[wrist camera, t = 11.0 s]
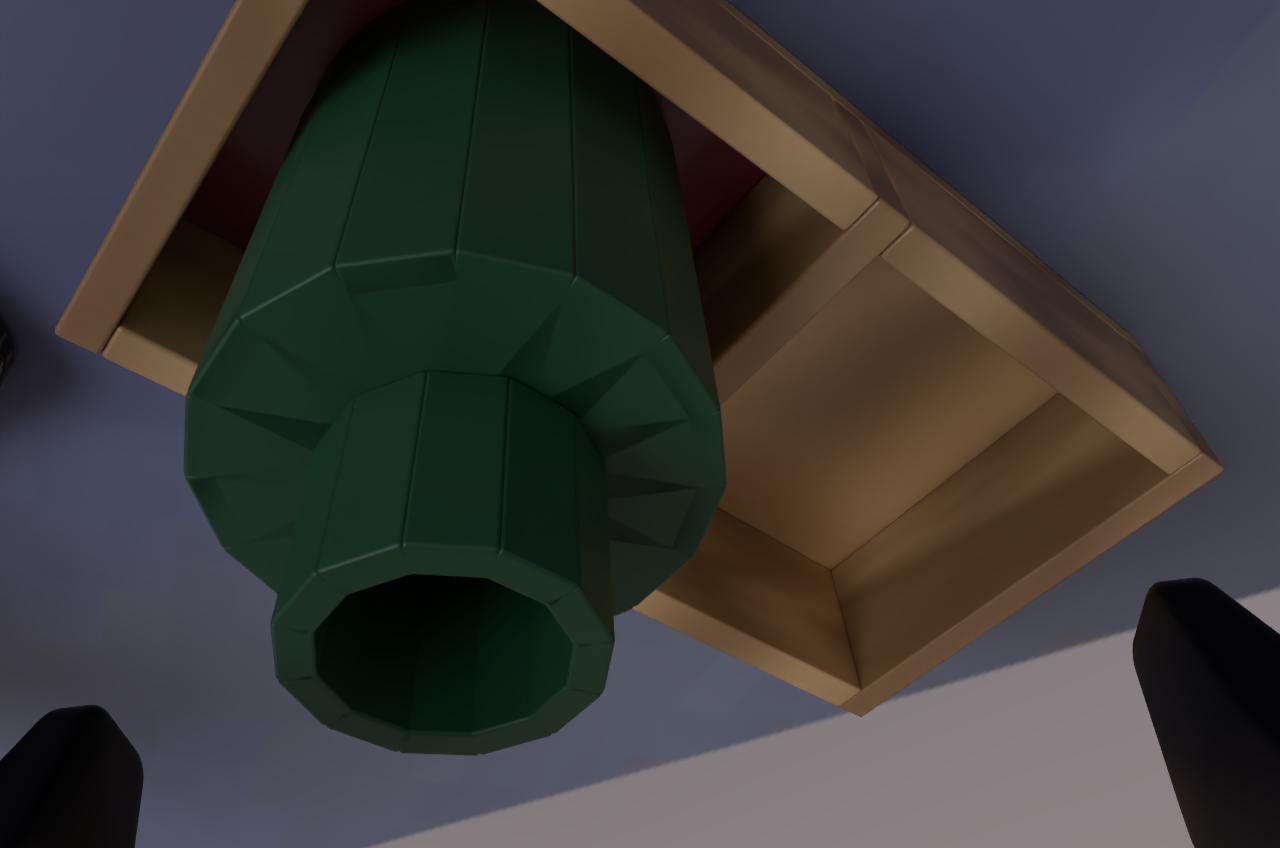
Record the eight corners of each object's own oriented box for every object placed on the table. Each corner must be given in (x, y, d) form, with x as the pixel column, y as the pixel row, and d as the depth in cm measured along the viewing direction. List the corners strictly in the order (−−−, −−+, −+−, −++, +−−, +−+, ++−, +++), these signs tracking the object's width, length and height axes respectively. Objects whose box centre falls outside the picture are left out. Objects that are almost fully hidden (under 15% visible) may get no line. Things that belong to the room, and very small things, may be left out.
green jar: (745, 139, 18) (886, 610, 10) (536, 372, 21) (524, 875, 13) (431, -100, 15) (308, 293, 8) (240, 205, 18) (12, 712, 11)
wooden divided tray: (1134, 337, 22) (1226, 470, 19) (826, 577, 26) (861, 718, 23) (396, -275, 15) (354, -217, 12) (132, 200, 19) (50, 335, 16)
